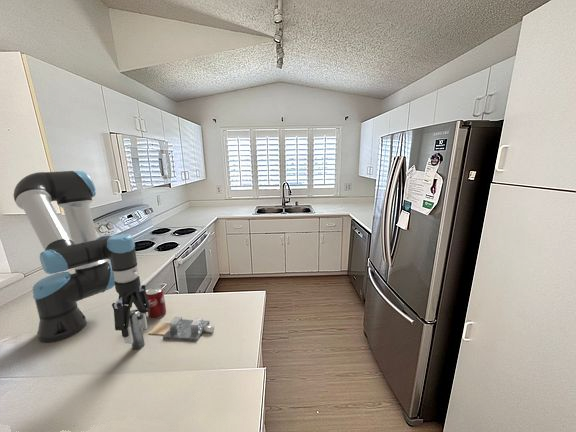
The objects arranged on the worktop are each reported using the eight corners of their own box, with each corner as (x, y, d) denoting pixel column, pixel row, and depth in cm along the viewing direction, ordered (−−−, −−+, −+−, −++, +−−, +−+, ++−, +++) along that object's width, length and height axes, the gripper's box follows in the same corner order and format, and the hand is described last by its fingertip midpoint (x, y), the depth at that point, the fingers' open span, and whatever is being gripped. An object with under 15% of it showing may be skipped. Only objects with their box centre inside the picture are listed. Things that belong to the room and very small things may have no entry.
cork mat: (148, 334, 101) (148, 333, 101) (159, 323, 108) (159, 322, 108) (165, 335, 100) (164, 334, 100) (174, 324, 107) (174, 323, 107)
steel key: (126, 349, 93) (120, 315, 90) (134, 341, 97) (128, 309, 94) (143, 350, 92) (137, 316, 89) (150, 342, 96) (144, 309, 93)
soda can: (161, 308, 119) (158, 284, 116) (169, 313, 114) (166, 289, 112) (145, 315, 113) (141, 291, 111) (152, 321, 109) (148, 296, 106)
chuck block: (163, 338, 98) (161, 328, 97) (178, 321, 109) (177, 311, 108) (207, 341, 96) (206, 331, 95) (218, 323, 107) (217, 313, 106)
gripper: (114, 293, 78) (126, 356, 83) (154, 266, 98) (162, 319, 103) (92, 292, 79) (105, 355, 84) (136, 266, 99) (145, 318, 104)
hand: (136, 335), depth 94 cm, fingers open, 7 cm apart
